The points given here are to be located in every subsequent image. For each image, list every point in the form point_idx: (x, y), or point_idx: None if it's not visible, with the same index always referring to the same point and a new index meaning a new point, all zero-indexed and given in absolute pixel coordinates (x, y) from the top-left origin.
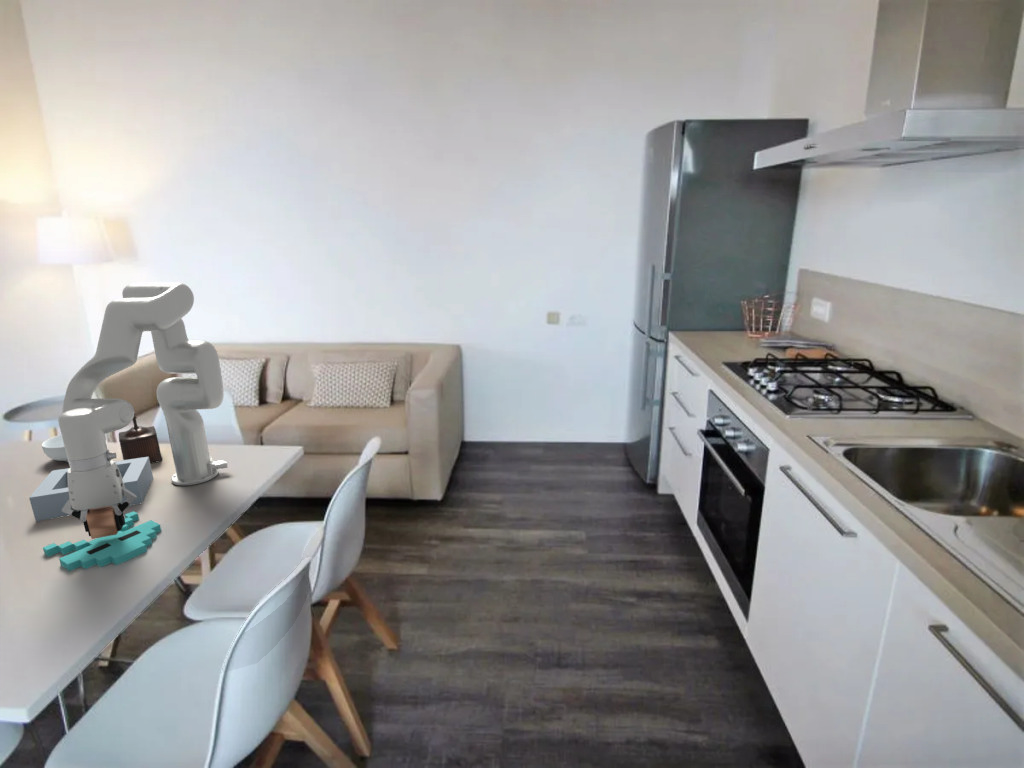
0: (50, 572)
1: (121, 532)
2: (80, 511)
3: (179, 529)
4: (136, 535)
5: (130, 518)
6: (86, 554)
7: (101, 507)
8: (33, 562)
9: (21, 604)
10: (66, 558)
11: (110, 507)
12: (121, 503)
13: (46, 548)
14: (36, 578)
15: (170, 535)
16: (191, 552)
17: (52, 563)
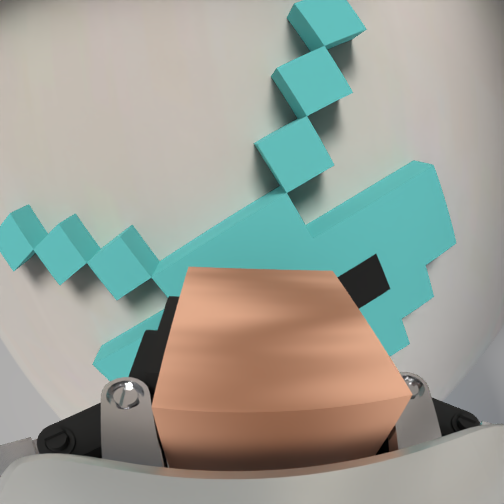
0: (92, 371)
1: (307, 244)
2: (93, 451)
3: (478, 254)
4: (370, 307)
5: (337, 72)
6: None
7: (272, 450)
8: (7, 278)
9: None
10: (119, 375)
11: (350, 460)
12: (435, 418)
13: (6, 254)
14: (71, 381)
15: (451, 287)
16: (450, 392)
17: (66, 319)
